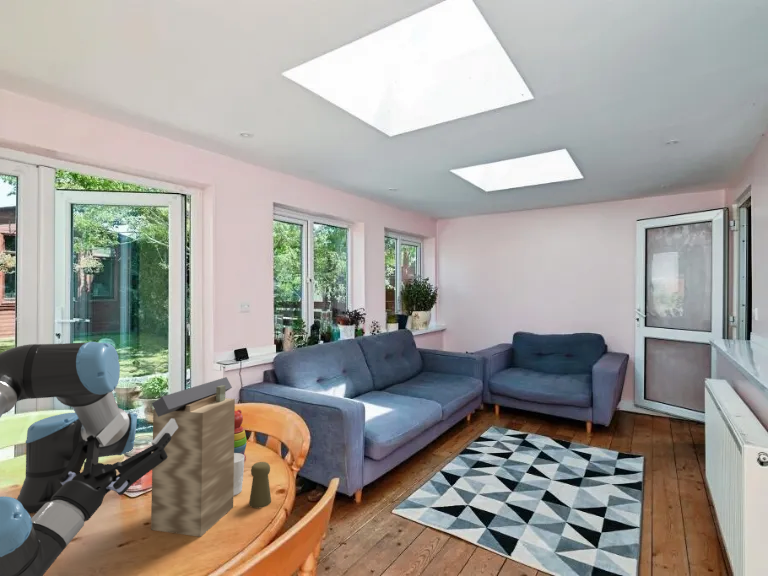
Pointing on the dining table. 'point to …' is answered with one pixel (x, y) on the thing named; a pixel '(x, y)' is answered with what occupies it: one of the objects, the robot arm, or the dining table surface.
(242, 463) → the white cup
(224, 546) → the dining table surface
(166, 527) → the tall wooden block
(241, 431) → the stacking bear
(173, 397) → the bar
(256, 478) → the olive pawn
